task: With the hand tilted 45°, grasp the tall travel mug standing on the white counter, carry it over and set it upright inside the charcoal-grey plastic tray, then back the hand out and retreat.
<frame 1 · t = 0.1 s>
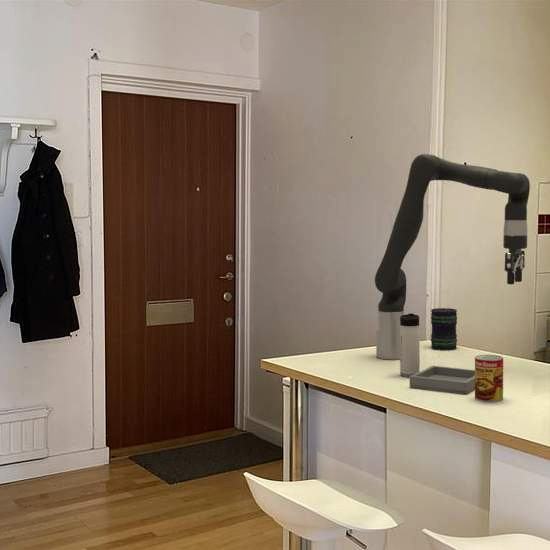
hand: (514, 283, 262), 29 cm above the worktop, fingers open, 8 cm apart
canned food: (488, 398, 228), on the worktop
travel mug: (409, 375, 260), on the worktop
grey tray: (448, 384, 245), on the worktop
storage jar: (443, 348, 306), on the worktop
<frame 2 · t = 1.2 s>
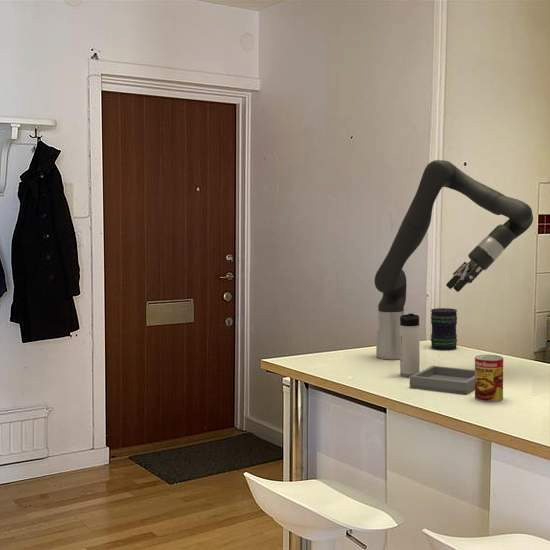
hand: (451, 288, 259), 28 cm above the worktop, fingers open, 8 cm apart
nothing on the worktop moved.
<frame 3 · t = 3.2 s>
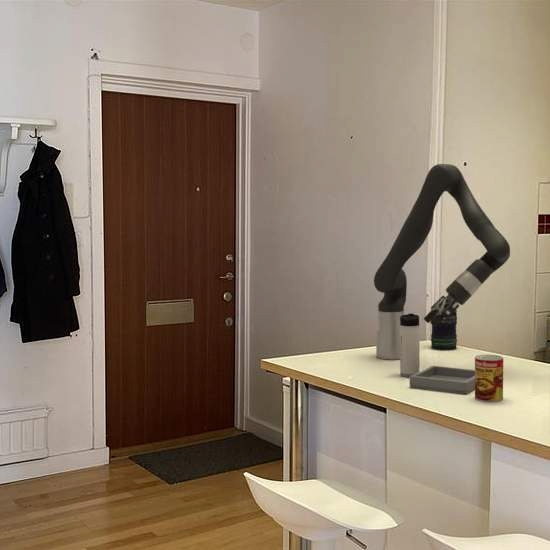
hand: (429, 323, 259), 17 cm above the worktop, fingers open, 8 cm apart
nothing on the worktop moved.
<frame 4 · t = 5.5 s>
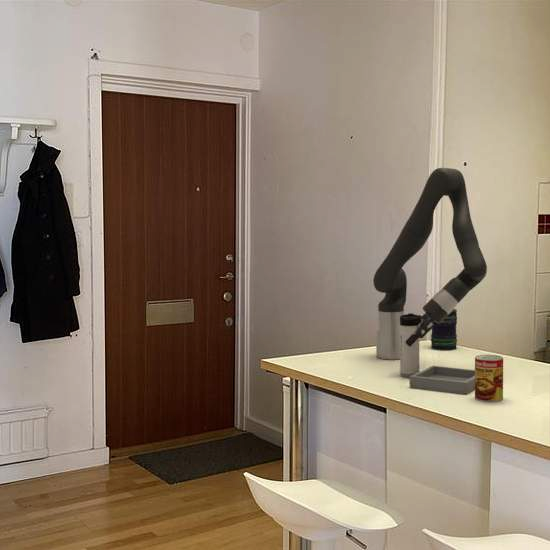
hand: (404, 342, 259), 11 cm above the worktop, fingers closed on travel mug, 6 cm apart
travel mug: (409, 375, 260), on the worktop, touching gripper
everything else where it was.
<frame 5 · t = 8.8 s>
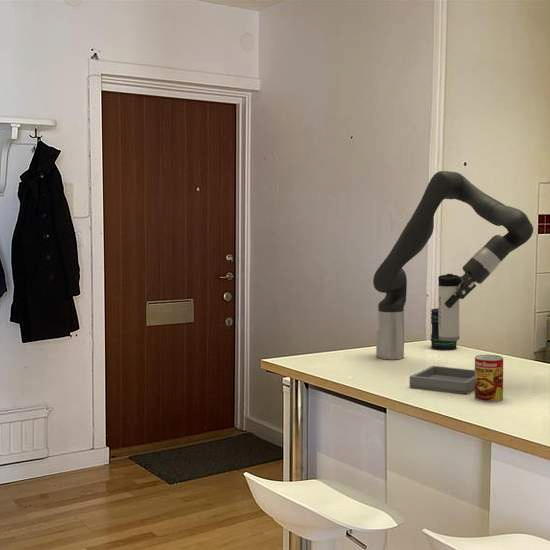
hand: (443, 304, 243), 25 cm above the worktop, fingers closed on travel mug, 6 cm apart
travel mug: (449, 339, 244), point 14 cm above the worktop, touching gripper
everything else where it was.
when the fingers open (13 cm above the worktop, at t = 12.1 s): travel mug drops 1 cm, resting on grey tray.
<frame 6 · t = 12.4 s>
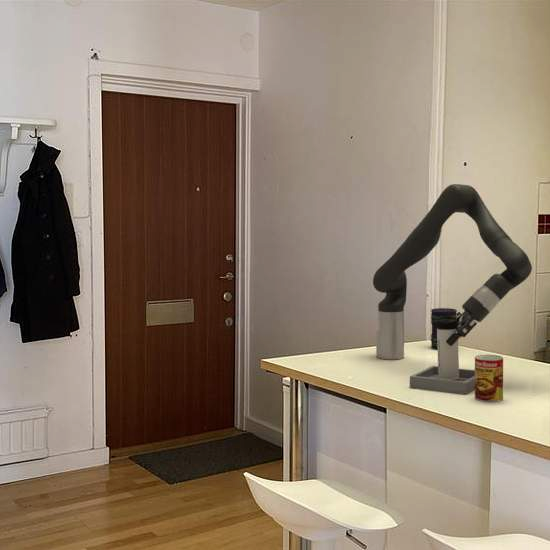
hand: (444, 341, 244), 14 cm above the worktop, fingers open, 8 cm apart
travel mug: (449, 381, 245), point 1 cm above the worktop, touching grey tray
everything else where it was.
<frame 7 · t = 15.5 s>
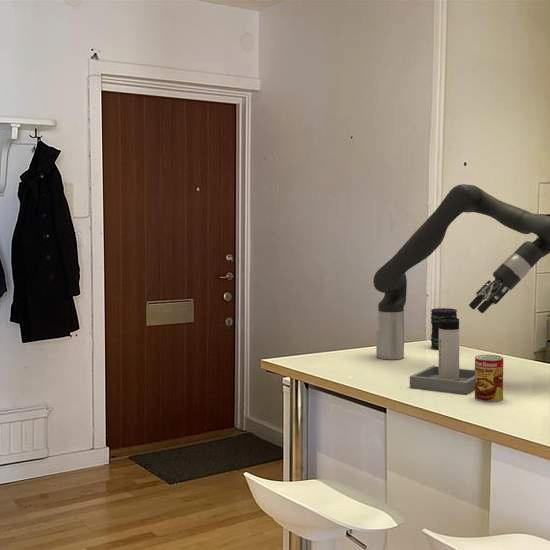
hand: (475, 309, 244), 23 cm above the worktop, fingers open, 8 cm apart
nothing on the worktop moved.
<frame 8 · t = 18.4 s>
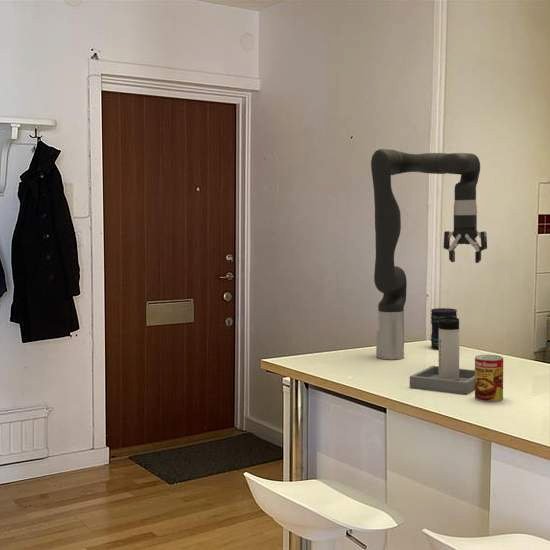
hand: (465, 262, 265), 36 cm above the worktop, fingers open, 8 cm apart
nothing on the worktop moved.
at the end: travel mug inside the target area on the grey tray (0.3 cm from its centre), point 0.8 cm above the grey tray's base; travel mug tilted 0°; the gripper is holding nothing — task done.
